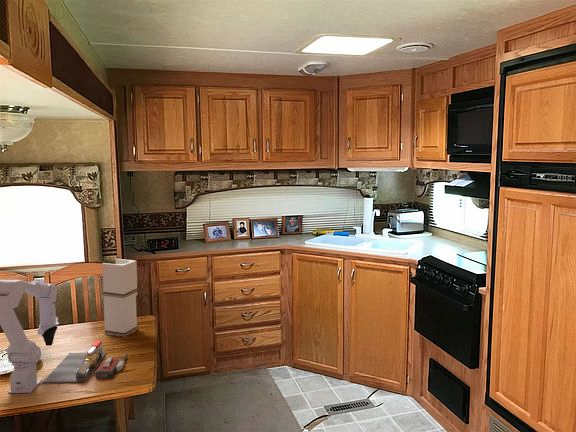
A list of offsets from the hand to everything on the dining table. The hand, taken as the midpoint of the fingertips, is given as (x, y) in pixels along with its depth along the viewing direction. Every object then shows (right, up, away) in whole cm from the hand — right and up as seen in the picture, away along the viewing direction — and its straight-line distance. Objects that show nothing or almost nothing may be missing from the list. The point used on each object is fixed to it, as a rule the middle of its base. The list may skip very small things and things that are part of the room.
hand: (49, 345), depth 193 cm
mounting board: (+11, -10, +1) cm, 14 cm away
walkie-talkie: (+25, -10, +2) cm, 27 cm away
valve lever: (+16, -3, +5) cm, 17 cm away
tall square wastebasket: (+16, -5, +40) cm, 43 cm away
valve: (+16, -10, +1) cm, 19 cm away
